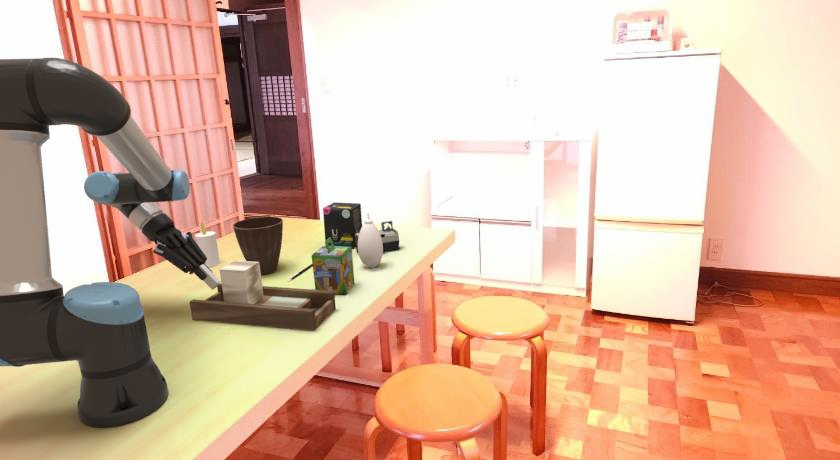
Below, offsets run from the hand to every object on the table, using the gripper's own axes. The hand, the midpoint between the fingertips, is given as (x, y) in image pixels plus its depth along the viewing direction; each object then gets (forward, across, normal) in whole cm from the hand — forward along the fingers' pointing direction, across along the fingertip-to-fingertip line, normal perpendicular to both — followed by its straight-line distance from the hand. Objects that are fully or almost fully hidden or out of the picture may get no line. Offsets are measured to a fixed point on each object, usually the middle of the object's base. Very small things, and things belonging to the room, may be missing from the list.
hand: (216, 285), depth 144 cm
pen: (+11, -32, +1) cm, 34 cm away
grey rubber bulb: (+25, -39, +15) cm, 49 cm away
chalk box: (+22, -20, +12) cm, 32 cm away
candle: (-13, -33, -24) cm, 43 cm away
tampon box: (+13, -60, +3) cm, 61 cm away
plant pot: (+2, -30, -8) cm, 31 cm away
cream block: (+8, 0, +3) cm, 9 cm away
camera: (+23, -54, +13) cm, 60 cm away
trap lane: (+14, 0, +4) cm, 14 cm away
